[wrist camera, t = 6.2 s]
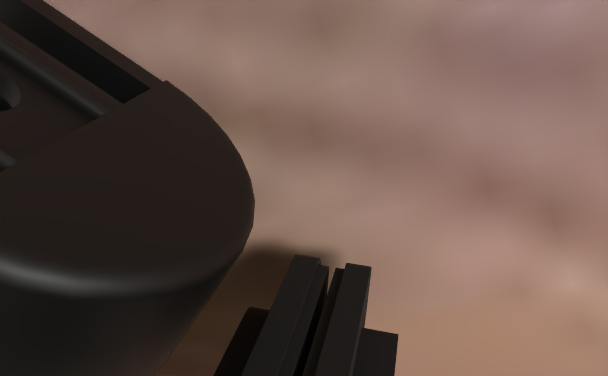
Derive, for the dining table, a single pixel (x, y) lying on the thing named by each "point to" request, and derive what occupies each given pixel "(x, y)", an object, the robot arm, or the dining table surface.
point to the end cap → (104, 204)
